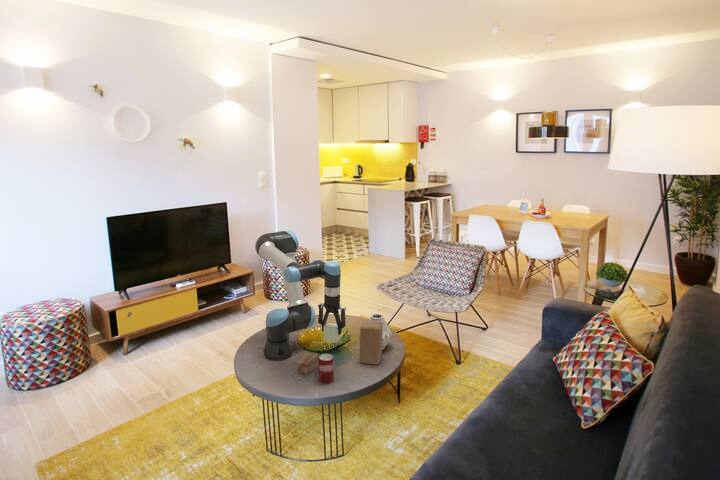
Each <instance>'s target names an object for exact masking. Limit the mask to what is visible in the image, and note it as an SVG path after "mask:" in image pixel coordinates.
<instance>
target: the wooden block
mask: <svg viewBox="0 0 720 480" xmlns="http://www.w3.org/2000/svg"><path fill="white" fill-rule="evenodd" d="M382 353H383V350H382V322H381V321H371V320H369V319H364V320H362V323H361V325H360V327H359V363H360V364H367V365H374V366H375V365H377V366H378V365H380V362H381V358H382V356H383V355H382Z"/></svg>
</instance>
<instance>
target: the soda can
mask: <svg viewBox="0 0 720 480" xmlns="http://www.w3.org/2000/svg"><path fill="white" fill-rule="evenodd" d="M317 367H318V370H317V372H318V381H319V383H321V384H324V385H327V384H331V383H333V382H334V380H335V356H334V355H333V354H330V353H322V354H321V355H318V365H317Z"/></svg>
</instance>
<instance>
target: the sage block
mask: <svg viewBox="0 0 720 480" xmlns="http://www.w3.org/2000/svg"><path fill="white" fill-rule="evenodd" d="M326 324H327V325H326ZM326 324H325V325H326V326H325V327H324V332H323V334H324V336H323V342H327V343H332V344H336V343H337V341H336V329H337V328H338V326H337V323H331V322H328V323H326Z"/></svg>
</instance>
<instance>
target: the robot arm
mask: <svg viewBox="0 0 720 480" xmlns="http://www.w3.org/2000/svg"><path fill="white" fill-rule="evenodd" d="M254 249H255V251H256V254H257V255H258V256H259V257H260V258H262V259H263V260H267V261H268V262H270V264H272V265H274V266H275V267H276V268H277V269H279V270H280V271H281V275H282V278H283V283H284V287H285V288H284V289H285V292H286V293H285V294H286V296H287V300H288V301H287V302H288V304H287V307H286V308H284V307H283V308H275V309H272V310H270V311H268V312H267V314H266V316H265V329H266V330H265V332H266V334H265V335H266V342H265V345H264V348H263V357H264V358H266V359H267V360H270V361H282V360H286V359H289V358H291V357H292V355H293V354H294V348H293V346H292V343H291V340H290V334H292V333H295V332H299V331H301V330H306V329H308V328H311V327H313V326H314V324H315V321H316V310H315V308H314V307H313V306H312V305H310V304H309V302H308V300H306V299H305V295H304V292H303V288H302V287H303V286H302V283H301V282H303V281H307V280H313V279H319V278H320V279H323V280H324V281H323V282H324V283H323V284H324V285H323V287H324V289H323V290H324V294H323V295H324V296H323V303H322V302H320V303H319V304H318V305H317V307H318V318H317V319H318V322H317V323H318V324H319V325H321V332H323V333H322V334H323V336H324V327H325V326H326V325H327V324H328V323H327V321H328V318H329V315H330V314H333V316H334V319H335V324H337V326H338V328H337V329H336V341H337V342H339V341H340V339H341V334H343V333H342V331H343V329H344V328H345V327H346V326H347V325H346V322H347V321H346V310H347V308H346V307H347V306H346V307H343V306H341V295H340V294H341V272H342V270H341V263H340V262H338V261H335V260H329V261H326V262H325V261H323V260H321V259H317V258H316V259H312V260H311V261H310V262H308V263H304V264H300V263H298V262H297V261H296V258H295V256H296V255H297V251H298V250H299V240H298V237H297V235H296V234H295V232H293V231H291V230H282V231H276V232H269V233H268V232H266V233H263V234H261V235H260V236H259V237H258V238H257V240H256V242H255V245H254ZM324 309H325V313H324ZM339 311H340V312H339ZM337 342H336V343H337Z"/></svg>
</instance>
